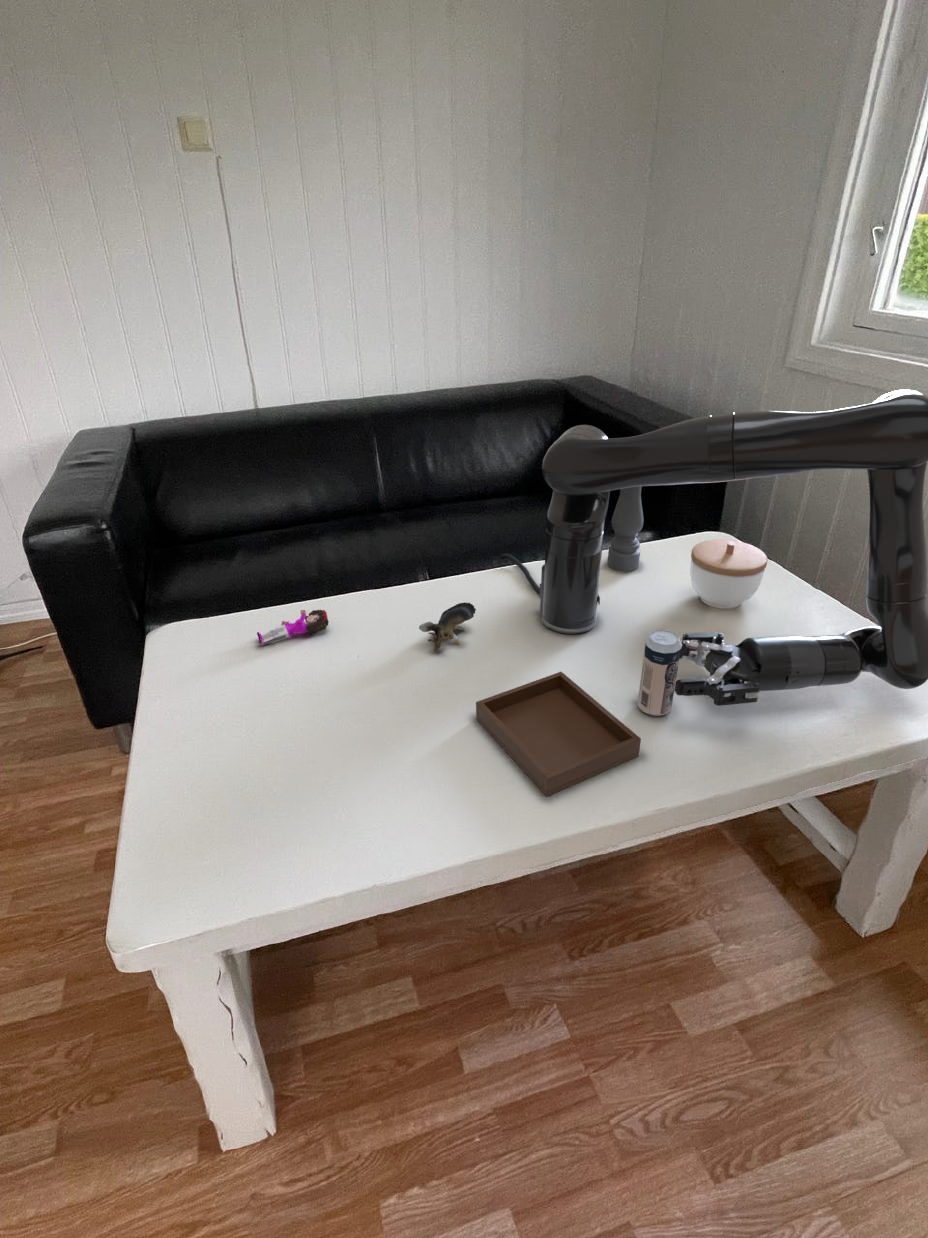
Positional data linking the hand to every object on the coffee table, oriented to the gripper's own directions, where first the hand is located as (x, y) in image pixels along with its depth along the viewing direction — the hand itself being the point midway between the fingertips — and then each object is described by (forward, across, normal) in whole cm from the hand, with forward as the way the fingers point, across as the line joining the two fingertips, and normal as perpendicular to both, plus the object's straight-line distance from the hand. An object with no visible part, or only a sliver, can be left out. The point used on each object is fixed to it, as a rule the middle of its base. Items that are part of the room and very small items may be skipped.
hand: (666, 669), depth 97 cm
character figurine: (+56, -25, +7) cm, 62 cm away
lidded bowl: (-20, -30, +7) cm, 37 cm away
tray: (+16, +5, +7) cm, 18 cm away
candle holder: (-7, -45, +7) cm, 46 cm away
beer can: (+1, 0, +7) cm, 7 cm away
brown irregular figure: (+29, -21, +7) cm, 37 cm away
